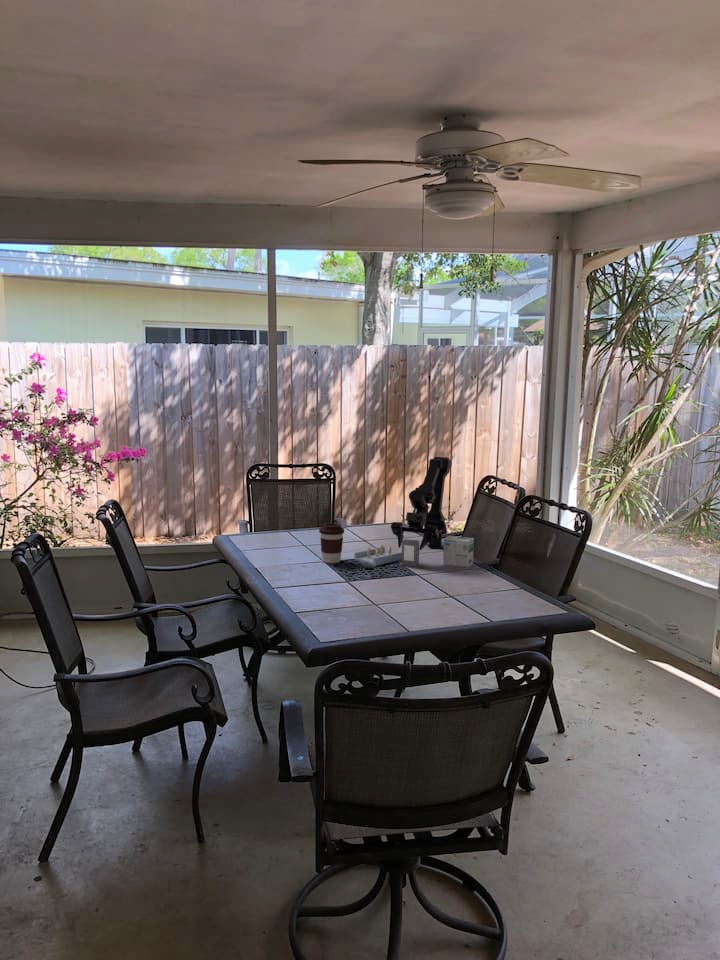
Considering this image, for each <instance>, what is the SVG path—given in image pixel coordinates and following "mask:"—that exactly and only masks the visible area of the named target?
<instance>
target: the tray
mask: <svg viewBox="0 0 720 960" xmlns="http://www.w3.org/2000/svg"><path fill="white" fill-rule="evenodd" d="M387 548H388V550H387V551H385V546H383V544H379V546H378V547H375V548H374V547H373V548H371V547H370V546H367V549H364V550H360V551H354V560H355V561H357V562H360V563H365V564H367V565H371V566H375V567H376V566H380V565H384V564H389V563H393V562H398V561H402V551H398V552H394V553H392V546H387Z"/></svg>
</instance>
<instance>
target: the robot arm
mask: <svg viewBox="0 0 720 960" xmlns="http://www.w3.org/2000/svg"><path fill="white" fill-rule="evenodd" d="M428 462H429V463H428V468H427V471H426V475H425V477H424V479H423V480H424V481H423V482H422V484H420V485H419V486H418V487H415V489H413V490H411V491H410V492H408V493H409V494H408V499H409V501H410V505H411V507H412V508H413V510H412V512H409V511H407V512H406V516H405V521H406V525H408V526H404V525H403V523H402V522H399V521H393V522H391V524H390V529H391V532H392V534H393V535H394V536H396V537H397V545H398V549H400V548H402V541H403V540H404V533H405V532H407V533H414V534H421V535H422V534H423V535H422V536H423V537H422V540H421V543H420V544H419V551H422V550H423V549H424V548H425V547H428V548H429V549H444V544H442V543H443V536H444V535H447V531H448V528H447V523H446V521H445V516H444V514H443V511H442V509H443V500H444V499H443V498H444V490H445V482H446V478H447V476H448V475H449V473H450V472H451V468H452V464H453V462H452V459H450V458H449V457H446V456H434V457H433V458H429V461H428ZM429 504H431V505H430V510H429Z"/></svg>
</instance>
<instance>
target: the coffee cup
mask: <svg viewBox="0 0 720 960" xmlns="http://www.w3.org/2000/svg"><path fill="white" fill-rule="evenodd" d="M318 531H319V534H320V539H319V540H320V551H321V560H322V562H323V563H325V564H338V563H340V562H341V561H342V560H341V559H342V557H341V555H342V551H343V543H344V542H343V540H344V538H343V534H344V533H345V528H344V527H342V525H341V524H340V523H336V522H326V523H324V524H323V525H322V526H321V527H319V529H318Z"/></svg>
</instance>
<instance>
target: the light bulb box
mask: <svg viewBox="0 0 720 960" xmlns="http://www.w3.org/2000/svg"><path fill="white" fill-rule="evenodd" d="M474 540H475V538H474V537H465V536H456V535H448V536H446V537H444V538H443V546H444V548H443V551H442V552H443V555H442V556H443V557H442V558H443V559H442V562H443V563H442V565H444V566H445V565H446V566H452V567H453V566H454V567H460V568H461V567H462V568H470V567H471V566H472V565H473V564H474V543H475V542H474Z"/></svg>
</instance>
